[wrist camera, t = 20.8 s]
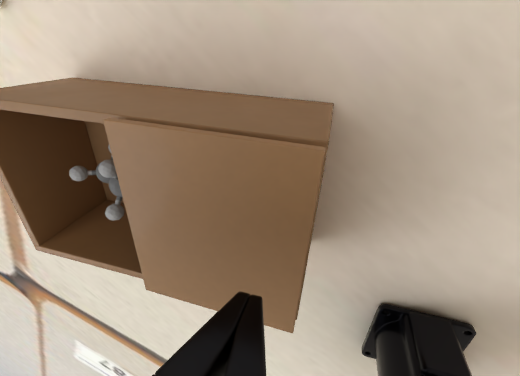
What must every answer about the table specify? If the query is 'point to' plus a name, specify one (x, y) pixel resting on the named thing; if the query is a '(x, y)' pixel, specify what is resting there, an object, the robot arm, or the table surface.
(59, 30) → the table surface
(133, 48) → the table surface
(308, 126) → the carton
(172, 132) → the carton flap
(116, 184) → the molecular model
